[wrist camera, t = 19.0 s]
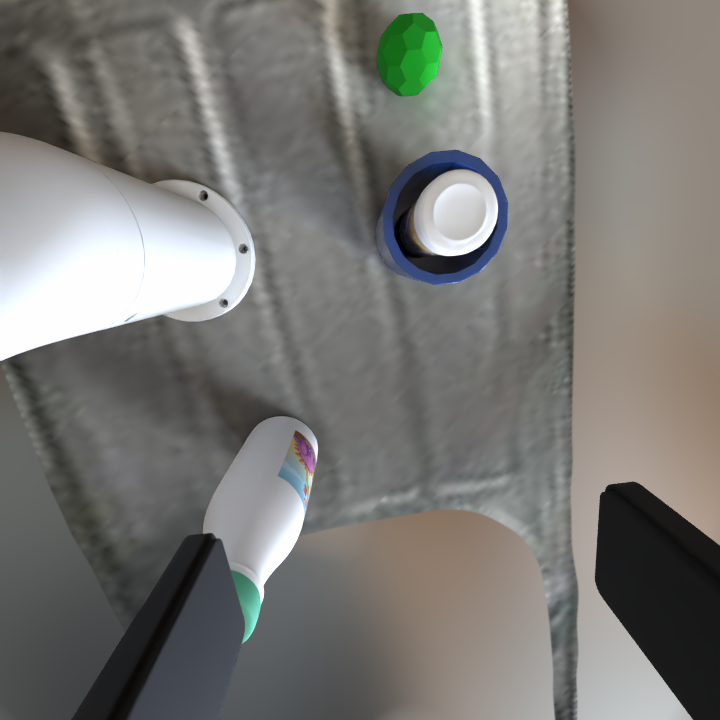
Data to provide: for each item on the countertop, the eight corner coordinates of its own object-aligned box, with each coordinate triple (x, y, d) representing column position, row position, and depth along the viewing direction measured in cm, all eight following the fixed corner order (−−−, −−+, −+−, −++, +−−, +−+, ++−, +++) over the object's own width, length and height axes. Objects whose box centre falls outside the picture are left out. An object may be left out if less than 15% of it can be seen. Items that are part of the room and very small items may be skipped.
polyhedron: (365, 83, 30) (366, 50, 25) (396, 24, 29) (404, -22, 24) (413, 118, 31) (423, 92, 26) (445, 62, 30) (462, 24, 25)
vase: (378, 282, 34) (387, 289, 25) (371, 189, 32) (378, 156, 22) (463, 274, 34) (506, 278, 25) (463, 180, 32) (509, 144, 22)
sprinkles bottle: (393, 207, 32) (420, 166, 19) (444, 206, 32) (504, 166, 19) (393, 259, 33) (417, 255, 20) (441, 258, 33) (496, 254, 20)
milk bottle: (244, 469, 40) (139, 664, 20) (254, 407, 38) (146, 558, 18) (312, 481, 40) (271, 682, 21) (324, 421, 38) (292, 581, 19)
